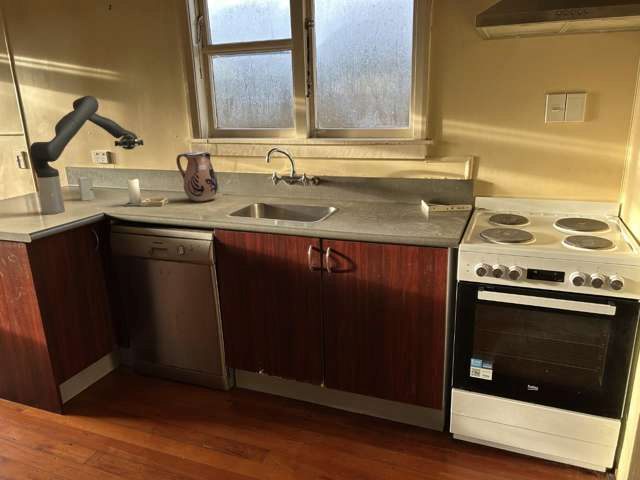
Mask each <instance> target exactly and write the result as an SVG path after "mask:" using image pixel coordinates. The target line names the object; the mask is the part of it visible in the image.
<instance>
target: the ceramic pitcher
mask: <svg viewBox="0 0 640 480" xmlns="http://www.w3.org/2000/svg"><path fill="white" fill-rule="evenodd" d="M211 155H212V154H211V153H210V152H206V151H201V152H196V151H195V152H182V153H179V154H178V155H177V156H176V161H175V162H176V165H177V168H178V171H179V173H180V174H181V176H182V178H183V190H184V192H185V195H186V197H188V198H189V199H190V200H192V201H193V202H207V201H211V200H212V199H214V198H215V196H216V195H217V193H218V190H219V184H218V179H217V176H216V173H215V170H214V167H213V165H212V161H211ZM182 157H185V158H186V160H187V164H186V165H187V166H186V168H185V169H186V170H185V171H184V169H183V167H182V164H181V158H182Z"/></svg>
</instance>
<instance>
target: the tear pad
mask: <svg viewBox="0 0 640 480" xmlns="http://www.w3.org/2000/svg"><path fill="white" fill-rule="evenodd" d="M142 201H143V200H141V202H142ZM122 207H124V208H125V207H141V206H140V203H138V204H130V201H129V202H126V203H125V204H123V205H122Z"/></svg>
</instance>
